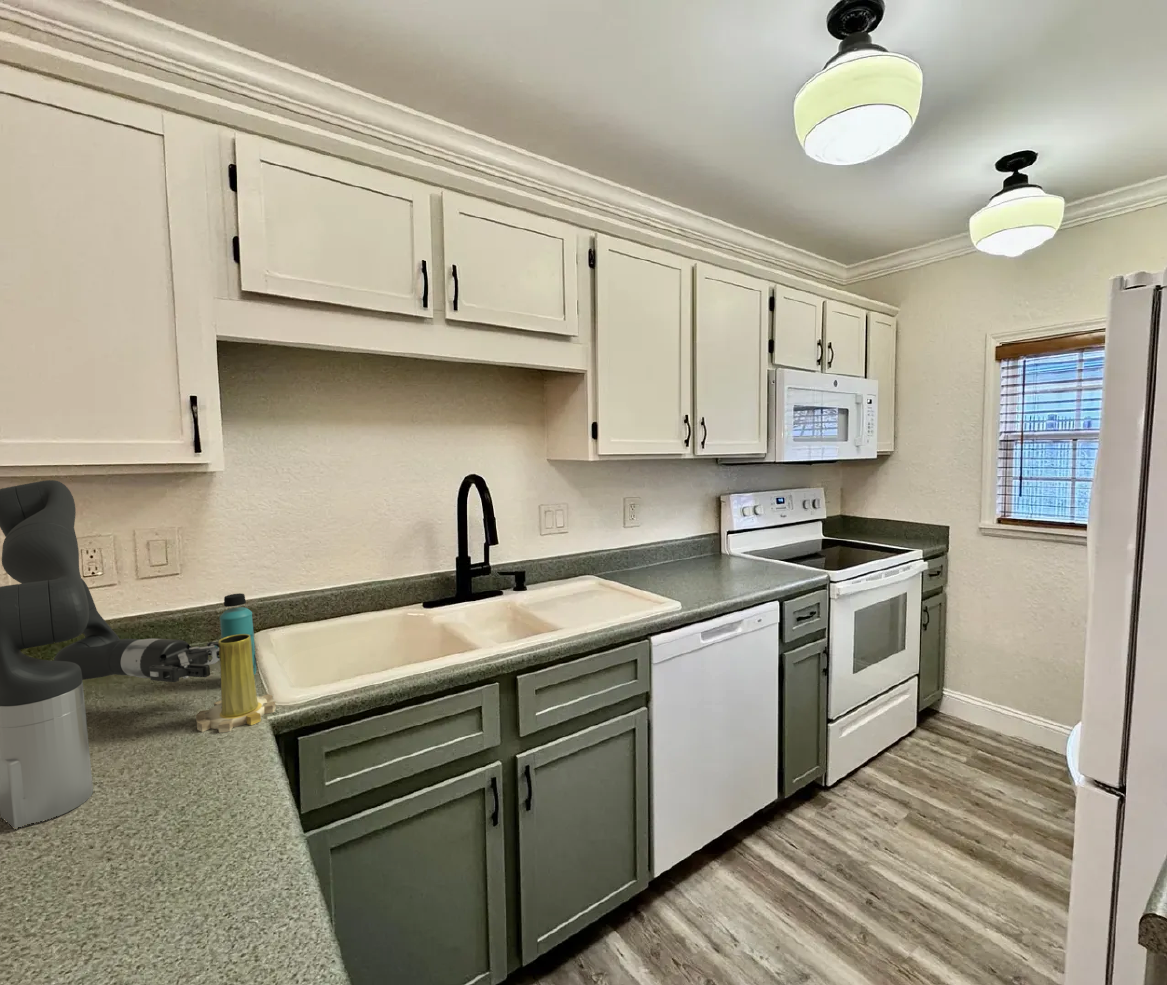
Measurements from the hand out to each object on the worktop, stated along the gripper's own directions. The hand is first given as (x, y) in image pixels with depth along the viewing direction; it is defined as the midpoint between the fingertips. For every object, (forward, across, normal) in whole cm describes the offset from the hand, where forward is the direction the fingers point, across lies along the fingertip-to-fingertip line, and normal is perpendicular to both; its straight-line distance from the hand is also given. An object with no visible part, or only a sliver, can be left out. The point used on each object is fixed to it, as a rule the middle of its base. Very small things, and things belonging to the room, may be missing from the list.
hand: (227, 662), depth 106 cm
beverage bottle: (-11, +15, +11) cm, 22 cm away
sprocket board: (+1, 0, +11) cm, 11 cm away
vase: (+2, 0, +10) cm, 10 cm away
